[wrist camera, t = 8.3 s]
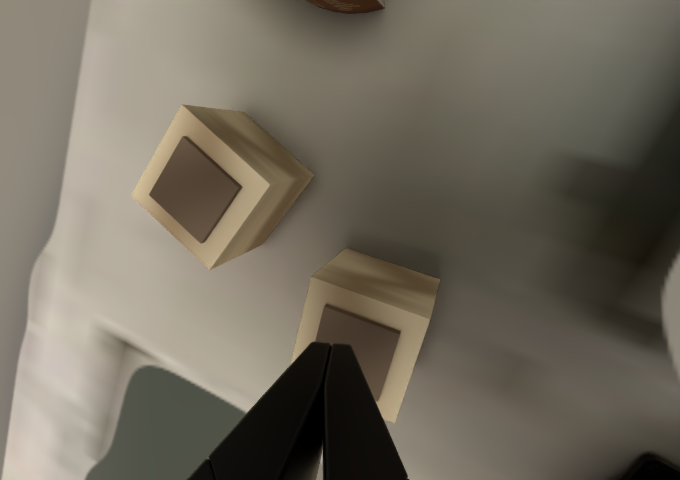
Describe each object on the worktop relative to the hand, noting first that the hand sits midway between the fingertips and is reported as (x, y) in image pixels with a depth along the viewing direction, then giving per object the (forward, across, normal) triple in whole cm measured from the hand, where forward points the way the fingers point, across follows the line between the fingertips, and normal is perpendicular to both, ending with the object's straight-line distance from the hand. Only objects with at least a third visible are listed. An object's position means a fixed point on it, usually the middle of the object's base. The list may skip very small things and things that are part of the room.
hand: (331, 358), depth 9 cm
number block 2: (+11, -1, +6) cm, 13 cm away
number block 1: (+14, +6, +1) cm, 15 cm away
